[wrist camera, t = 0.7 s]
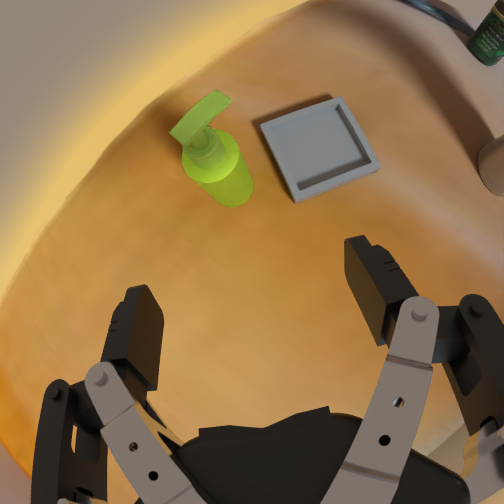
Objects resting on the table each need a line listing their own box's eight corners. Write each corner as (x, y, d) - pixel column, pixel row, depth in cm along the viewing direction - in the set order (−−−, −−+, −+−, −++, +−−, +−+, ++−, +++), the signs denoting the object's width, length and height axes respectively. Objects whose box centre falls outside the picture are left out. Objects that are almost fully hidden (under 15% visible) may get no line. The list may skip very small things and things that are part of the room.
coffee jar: (487, 71, 36) (529, 25, 18) (461, 44, 37) (496, -7, 18) (501, 61, 35) (539, 20, 17) (478, 35, 36) (510, -9, 18)
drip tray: (338, 104, 40) (341, 96, 37) (376, 171, 39) (381, 166, 36) (261, 131, 41) (259, 124, 38) (295, 204, 40) (295, 200, 37)
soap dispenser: (267, 179, 40) (249, 109, 21) (233, 215, 41) (186, 174, 21) (236, 154, 41) (198, 75, 21) (204, 189, 41) (140, 134, 22)
